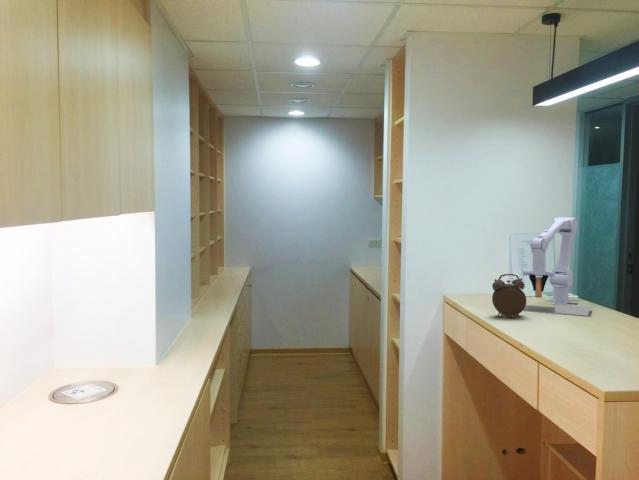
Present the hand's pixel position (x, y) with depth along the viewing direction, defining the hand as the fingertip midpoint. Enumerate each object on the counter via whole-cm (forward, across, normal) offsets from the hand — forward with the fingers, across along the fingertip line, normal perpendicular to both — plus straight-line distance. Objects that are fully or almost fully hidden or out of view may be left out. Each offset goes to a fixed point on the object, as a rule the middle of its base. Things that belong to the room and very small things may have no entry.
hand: (538, 290), depth 255 cm
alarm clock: (+10, -10, -21) cm, 25 cm away
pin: (+3, 0, 0) cm, 3 cm away
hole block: (+9, +15, 0) cm, 17 cm away
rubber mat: (+9, +8, 0) cm, 12 cm away
